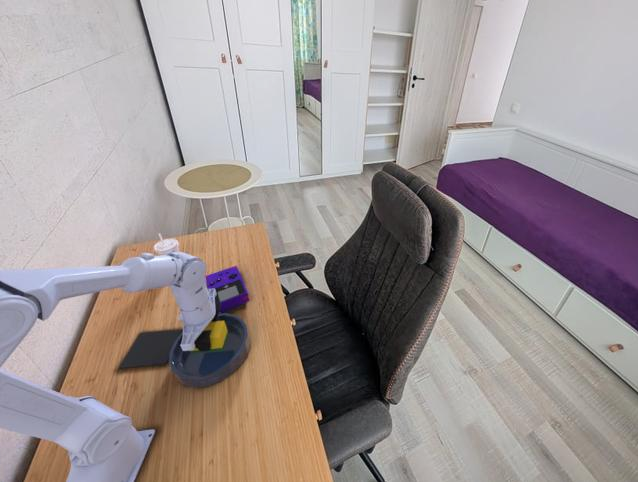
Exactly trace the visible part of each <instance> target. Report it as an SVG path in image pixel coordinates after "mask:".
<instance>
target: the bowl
mask: <svg viewBox="0 0 638 482" xmlns="http://www.w3.org/2000/svg"><path fill="white" fill-rule="evenodd" d="M218 321H225V324H226V327H227V330H228V333H229V334H228V337H227V340H226V343H225V346H224V349H223V350H222V351H212V352H202V353H193V354H191V353H190V351H183V350H182V348H181V346H180V345H181V343H182V342H181V340H180V338H181V336H182V333H183V331H182V333H181V335H180V336H179V337H178V338H177V339H176V340H175V342H174V344H173V346H172V348H171V350H170V355H169V361H168V364H169V367H170V370H171V372H172V374H173V375H174V378H175V379H176V380H177V381H178V382H179V383H180V384H181V385H183V386H184V387H188V388H193V389H199V388H207V387H210V386H213V385H215V384H217V383H220V382H222V381H224V380H225V379H226V378H228V377H230V376H232V374H234V373H235V372H236V371H237V369H238V368H239V367H240V366H241V365H242V364H243V362H244V361H245V359H246V357H247V355H248V354H249V350H250V346H251V339H250V333H249V329H248V326H247V324H246V323H245V321H244V320H243V318H241V317H240V316H238V315H236V314H232V313H223V314H221V313H219V314H218Z"/></svg>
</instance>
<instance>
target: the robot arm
mask: <svg viewBox="0 0 638 482" xmlns="http://www.w3.org/2000/svg"><path fill="white" fill-rule="evenodd" d="M207 267H208V265H207V262H204V261H203V260H202V259H201V258H200V257H197V256H194V255H192V254H188V253H185V252H183V251H179V252H178V251H174V250H171V251H168V252H167V253H165V254H164V255H161V256H159V255H155V254H153V253H150V252H141V254H140V256H132V257H128V258H126V259H125V260H124V261H123V262H122V263H120V265H106V266H105V265H103V266H100V265H99V266H82V267H81V266H79V267H57V268H33V269H31V268H29V269H25V268H24V269H23V268H22V269H21V268H19V269H18V268H17V269H15V268H14V269H13V268H12V269H7V268H6V269H0V429H3V430H6V431H10V432H14V433H18V434H21V435H25V436H29V437H34V438H37V439H41V440H44V441H50V442H52V443H55V444H57V445H58V446H60V447H62V448H63V449H65V450H66V451H68V452H67V453H68V458H69V459H68V460H69V461H70V469H69V473H68V474H67V475H68V476H67V478H66V480H65V482H135V481H136V479H137V476H138V473H139V471H140V468H141V467H142V464H143V461H144V459H145V457H146V455H147V452H148V450H149V448H150V445H151V443H152V441H153V438H154V436H155V433H156V430H155V428H154V429H153V428H152V429H151V428H150V429H145V430H137V429H136V428H135V427H134V425H133V419H132V418H131V417H130V416H128V415H124V413H121V412H119V411H117V410H115V409H113V408H111V407H110V406H108V405H106V404H104V403H103V402H101V401H99V400H98V398H97V397H95V396H94V395H85V396H81V397H75V396H72V395H66V394H63V393H61V392H58V391H56V390H54V389H51V388H49V387H46V386H45V385H42V384H39V383H37V382H34V381H32V380H29V379H27V378H24V377H22V376H20V375H17V374H15V373H13V372H10V371H8V370H6V369H3V368H1V367H2V366H3V365H4V364H5V362H7V360H8V359H9V357H11V355H12V354H13V353H14V351H16V349H17V348H18V347H19V345H20V344H21V343H22V342H23V341H24V339H25V338H26V337H27V335H28V334H29V333H30V331H31V330H32V329H33V327H34V325H35V324H36V322H37V320H41V321H42V322H44V321H46V320H48V319H49V318H50V317H51V315H52V313H53V312H54V311H55V309H56V307H57V306H58V305H59V303H60V302H61V301H62V300H67V299H72V298H74V297H75V298H76V297H81V296H86V295H90V294H91V295H92V294H95V293H100V292H104V291H109V290H114V289H119V288H120V290H122V291H124V292H125V293H129V294H132V293H138V292H143V291H149V290H155V289H159V288H165V287H169V289H170V291H171V293H172V296H173V298H174V300H175V303H176V306H177V307H178V309H179V312H180V314H179V316H178V318H177V320H178V321H179V322H182V329H183V331H182V332H183V333H182V336H181V338H180V340H181V342H182V343H181V345H180V346H181V348H182V350H183V351H190V350H194V348H195V347H196V348H197V349H198V350H199V351H201V352H202V351H209V350H210V348H211V343H210V334H211V331H212V330H205V331H204V329H205V328H206V326H207V325H208V324H209V323H210V322H214V321H218V314H220V313H219V310H220V307H221V304H220V303H219V302H216V303H215V297H216V294H217V293H216V290H215V289H208V287H207V283H206V278H205V276H206V273H207Z"/></svg>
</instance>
